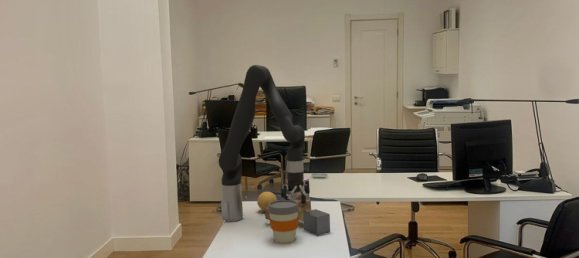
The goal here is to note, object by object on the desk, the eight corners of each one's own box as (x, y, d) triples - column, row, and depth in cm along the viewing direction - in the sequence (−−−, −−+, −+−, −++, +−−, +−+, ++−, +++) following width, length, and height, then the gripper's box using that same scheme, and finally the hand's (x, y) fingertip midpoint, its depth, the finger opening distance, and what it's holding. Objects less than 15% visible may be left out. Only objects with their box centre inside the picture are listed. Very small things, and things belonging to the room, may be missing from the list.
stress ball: (277, 214, 230) (283, 198, 237) (267, 203, 225) (273, 186, 231) (261, 215, 236) (267, 199, 242) (251, 204, 230) (257, 188, 236)
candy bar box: (286, 213, 229) (285, 180, 227) (287, 210, 234) (286, 178, 232) (309, 213, 228) (308, 180, 226) (310, 210, 233) (309, 177, 231)
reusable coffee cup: (265, 243, 190) (263, 207, 188) (276, 232, 202) (274, 199, 200) (294, 245, 186) (292, 209, 184) (303, 235, 197) (302, 200, 196)
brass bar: (311, 225, 201) (311, 215, 201) (283, 214, 218) (283, 205, 218) (318, 223, 204) (318, 213, 203) (291, 212, 221) (290, 203, 220)
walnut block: (271, 226, 211) (270, 209, 210) (265, 223, 214) (264, 207, 213) (311, 215, 224) (310, 199, 223) (305, 213, 227) (305, 197, 226)
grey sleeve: (317, 235, 196) (316, 217, 195) (303, 230, 204) (303, 212, 203) (330, 232, 200) (329, 213, 199) (316, 226, 208) (315, 209, 207)
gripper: (302, 166, 217) (303, 200, 219) (277, 170, 209) (278, 206, 211) (312, 169, 211) (313, 204, 213) (286, 173, 203) (287, 209, 205)
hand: (295, 205), depth 212 cm, fingers open, 8 cm apart
